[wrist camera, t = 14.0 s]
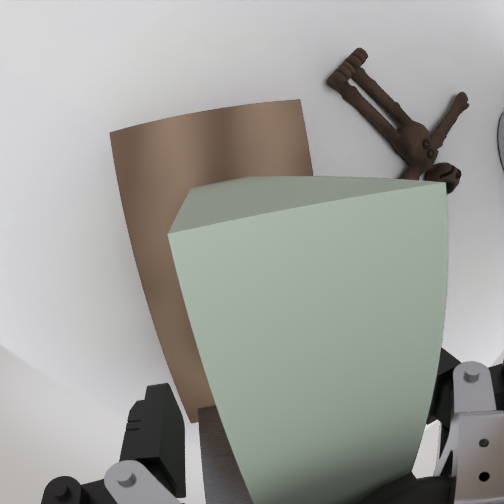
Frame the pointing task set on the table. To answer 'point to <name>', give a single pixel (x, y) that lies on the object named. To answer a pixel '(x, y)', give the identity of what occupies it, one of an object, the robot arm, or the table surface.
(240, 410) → the sage book
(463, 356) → the table surface
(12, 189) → the table surface
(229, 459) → the grey metal bookend
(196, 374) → the walnut shelf board
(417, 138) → the wooden monkey figure
